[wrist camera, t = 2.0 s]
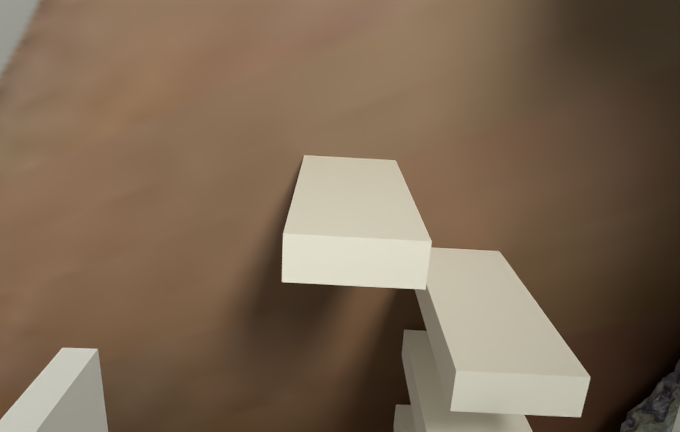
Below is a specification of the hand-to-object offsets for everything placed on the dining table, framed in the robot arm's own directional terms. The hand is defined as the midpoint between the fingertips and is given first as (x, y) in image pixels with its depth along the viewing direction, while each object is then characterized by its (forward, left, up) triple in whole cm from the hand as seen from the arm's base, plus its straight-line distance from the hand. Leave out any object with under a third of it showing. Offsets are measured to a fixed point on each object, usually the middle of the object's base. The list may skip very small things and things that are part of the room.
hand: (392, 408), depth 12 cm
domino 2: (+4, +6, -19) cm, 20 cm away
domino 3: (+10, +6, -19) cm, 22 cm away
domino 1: (-1, -1, -19) cm, 19 cm away
